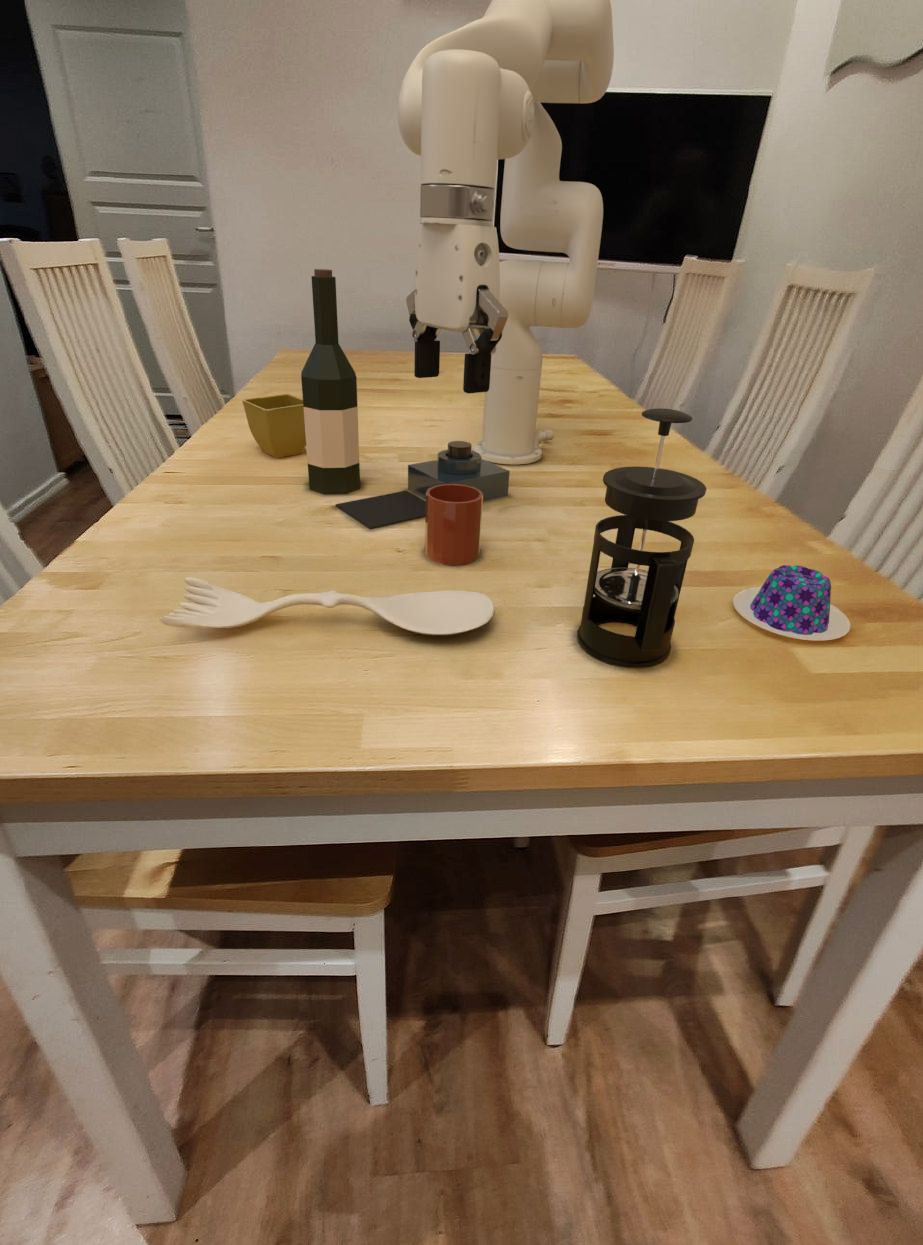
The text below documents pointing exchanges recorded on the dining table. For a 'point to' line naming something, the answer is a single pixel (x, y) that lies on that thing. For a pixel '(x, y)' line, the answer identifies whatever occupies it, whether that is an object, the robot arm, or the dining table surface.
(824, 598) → the purple patterned hat
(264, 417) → the flower pot
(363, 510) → the mat
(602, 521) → the french press
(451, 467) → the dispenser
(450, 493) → the cup
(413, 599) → the spoon
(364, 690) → the dining table surface
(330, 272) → the wine bottle
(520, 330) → the robot arm
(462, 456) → the dark brown button
